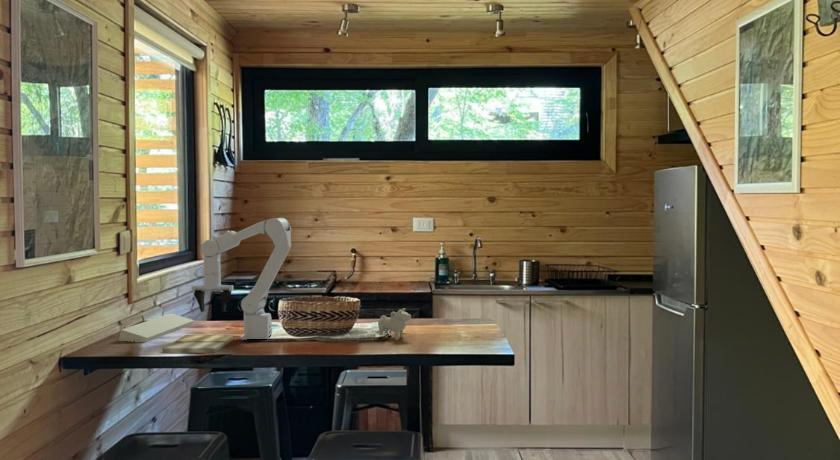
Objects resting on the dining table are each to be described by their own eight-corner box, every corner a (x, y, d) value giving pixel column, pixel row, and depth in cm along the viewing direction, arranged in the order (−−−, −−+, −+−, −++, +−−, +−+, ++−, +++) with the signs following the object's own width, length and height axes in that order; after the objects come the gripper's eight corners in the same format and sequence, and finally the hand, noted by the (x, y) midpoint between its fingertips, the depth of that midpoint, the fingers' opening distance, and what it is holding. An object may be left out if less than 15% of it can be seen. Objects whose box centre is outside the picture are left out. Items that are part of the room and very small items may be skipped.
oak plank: (233, 339, 239) (233, 334, 239) (224, 345, 229) (224, 341, 229) (185, 339, 240) (185, 334, 240) (174, 345, 230) (174, 341, 230)
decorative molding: (191, 332, 270) (168, 324, 271) (194, 320, 269) (171, 313, 271) (143, 351, 236) (118, 342, 237) (147, 337, 236) (121, 329, 237)
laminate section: (224, 346, 229) (224, 341, 229) (214, 352, 219) (214, 348, 219) (174, 346, 229) (174, 341, 229) (162, 352, 219) (162, 348, 219)
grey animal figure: (406, 340, 235) (406, 310, 235) (375, 337, 242) (375, 307, 241) (414, 338, 240) (414, 308, 239) (384, 334, 246) (383, 305, 246)
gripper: (235, 272, 246) (236, 309, 247) (196, 272, 247) (196, 309, 247) (229, 274, 239) (230, 312, 240) (189, 274, 240) (189, 312, 240)
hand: (213, 311), depth 243 cm, fingers open, 7 cm apart
